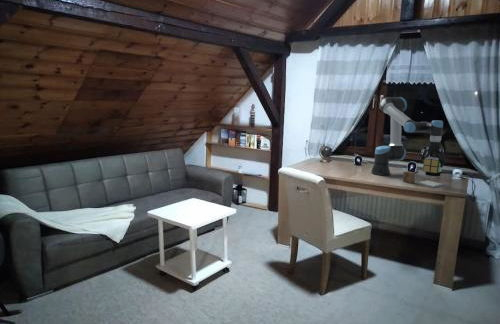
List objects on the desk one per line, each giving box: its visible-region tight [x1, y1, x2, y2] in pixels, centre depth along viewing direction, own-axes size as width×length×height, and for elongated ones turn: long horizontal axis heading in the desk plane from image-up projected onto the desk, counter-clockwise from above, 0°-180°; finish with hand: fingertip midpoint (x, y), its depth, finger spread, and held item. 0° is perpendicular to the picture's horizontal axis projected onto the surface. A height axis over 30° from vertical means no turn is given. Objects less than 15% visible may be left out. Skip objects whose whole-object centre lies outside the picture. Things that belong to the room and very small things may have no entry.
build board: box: [416, 179, 446, 189], centre depth 270 cm, size 14×14×1 cm
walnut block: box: [402, 170, 416, 185], centre depth 276 cm, size 6×6×8 cm
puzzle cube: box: [422, 156, 440, 174], centre depth 267 cm, size 10×10×10 cm
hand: (431, 170), depth 268 cm, fingers closed on puzzle cube, 11 cm apart
